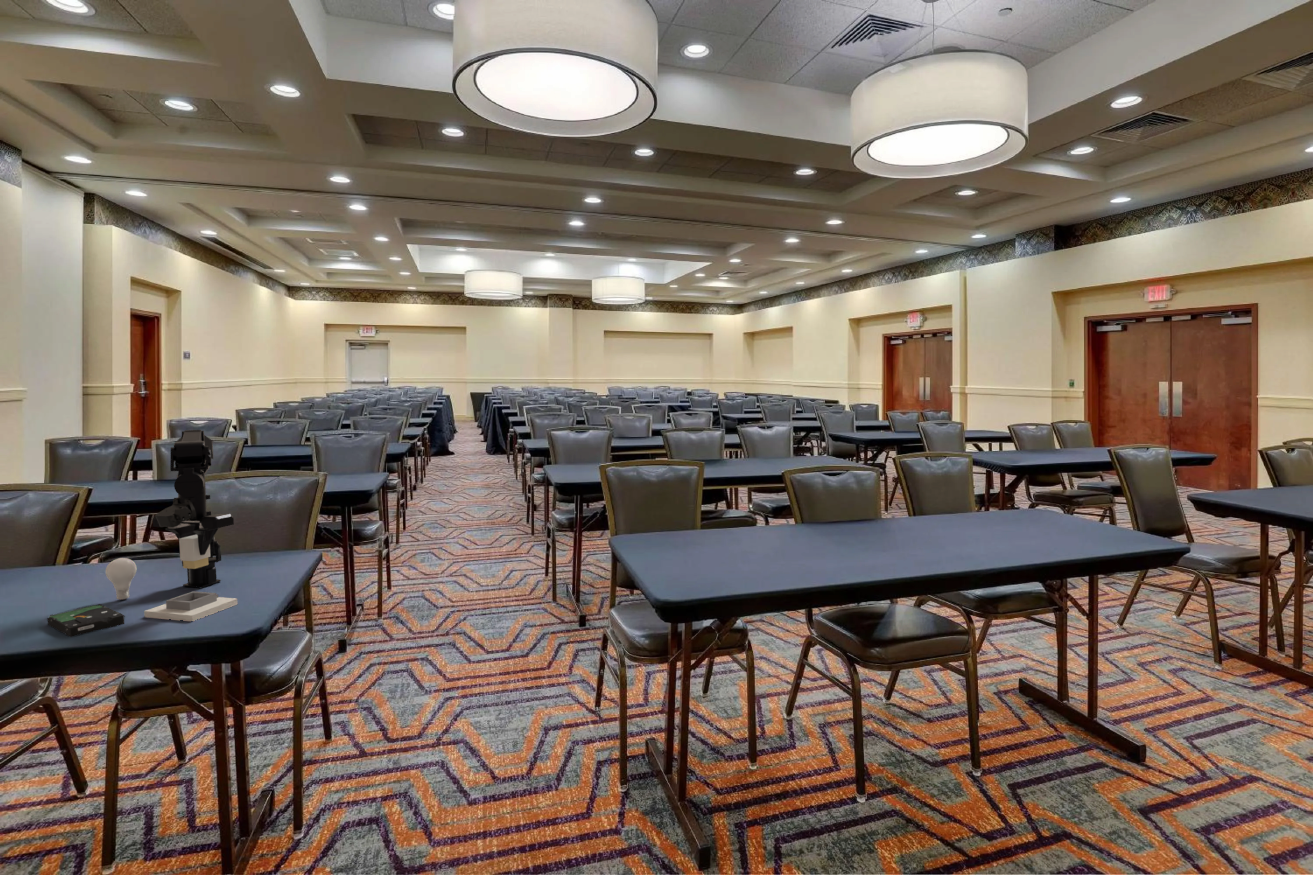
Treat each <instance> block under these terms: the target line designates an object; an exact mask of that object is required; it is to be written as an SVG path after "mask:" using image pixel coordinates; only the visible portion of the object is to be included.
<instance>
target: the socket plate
mask: <svg viewBox="0 0 1313 875" xmlns="http://www.w3.org/2000/svg"><path fill="white" fill-rule="evenodd" d="M237 605H238V598H234V597H223V596H219V594H217V592H208V591H207V592H205V591H196V590H195V591H193V590H192V591H191V592H188V593H184V594H181V595H179V596H176V597H172V598H170V599H166V600H165V603H164V604H162V605H158V606H155V607H152V608H149V609H145V610H144V612H143V613H144V618H148V619H149V618H150V619H160V620H161V619H162V620H169V619H171V621H180V620H183V622H191V621H193V622H196V621H198V620H200V618H201V619H203V618H206V617H208V615H209V616H211V615H213V614H216V613H219V612H221V611H223V610H227V609H229V608H231V607H235V606H237ZM218 611H219V612H218ZM205 616H206V617H205ZM197 619H198V620H197ZM195 620H196V621H195Z"/></svg>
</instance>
